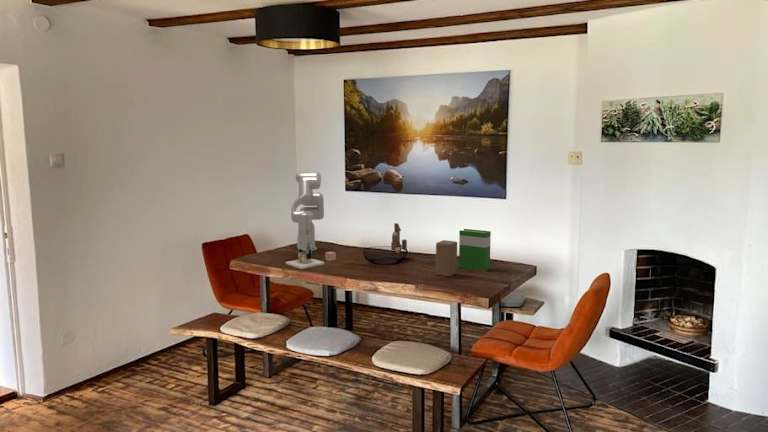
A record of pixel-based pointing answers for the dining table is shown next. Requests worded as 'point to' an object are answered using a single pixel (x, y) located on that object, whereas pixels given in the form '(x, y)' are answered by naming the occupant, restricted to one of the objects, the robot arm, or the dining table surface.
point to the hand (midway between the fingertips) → (304, 257)
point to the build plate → (304, 265)
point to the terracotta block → (330, 256)
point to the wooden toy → (397, 240)
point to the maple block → (303, 257)
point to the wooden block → (446, 258)
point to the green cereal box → (474, 249)
